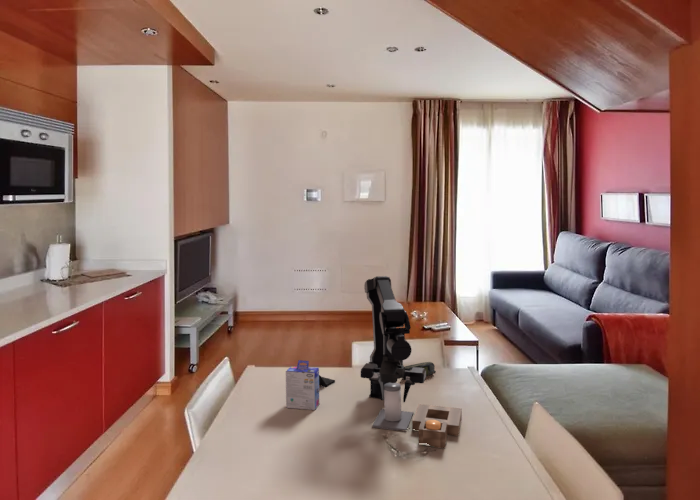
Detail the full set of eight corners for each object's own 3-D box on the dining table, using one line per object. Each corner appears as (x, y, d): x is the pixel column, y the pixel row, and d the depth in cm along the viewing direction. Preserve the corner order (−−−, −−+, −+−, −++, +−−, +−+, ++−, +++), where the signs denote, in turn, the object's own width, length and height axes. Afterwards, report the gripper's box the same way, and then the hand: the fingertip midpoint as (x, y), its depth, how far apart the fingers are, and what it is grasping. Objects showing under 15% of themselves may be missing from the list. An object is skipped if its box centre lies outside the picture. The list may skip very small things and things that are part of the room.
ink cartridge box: (320, 403, 163) (319, 360, 162) (315, 410, 158) (315, 365, 156) (291, 401, 165) (290, 358, 164) (285, 408, 160) (284, 364, 158)
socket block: (407, 443, 136) (407, 427, 136) (418, 413, 155) (418, 399, 155) (456, 449, 132) (456, 433, 132) (461, 418, 151) (461, 403, 151)
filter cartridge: (383, 420, 148) (382, 387, 148) (386, 414, 153) (385, 382, 153) (399, 422, 147) (398, 388, 146) (402, 415, 152) (402, 383, 151)
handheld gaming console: (337, 376, 184) (326, 359, 178) (332, 393, 179) (320, 377, 173) (310, 375, 189) (299, 360, 183) (304, 392, 184) (292, 377, 178)
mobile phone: (404, 368, 182) (438, 361, 189) (400, 366, 185) (433, 359, 192) (405, 382, 183) (438, 374, 189) (400, 379, 185) (433, 371, 192)
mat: (372, 427, 146) (372, 425, 146) (381, 410, 157) (381, 408, 157) (406, 431, 143) (406, 429, 143) (413, 414, 155) (413, 412, 154)
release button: (424, 439, 136) (424, 425, 135) (426, 432, 139) (426, 419, 139) (439, 441, 134) (439, 427, 134) (441, 434, 138) (441, 420, 138)
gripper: (355, 355, 143) (355, 408, 145) (420, 360, 138) (420, 415, 139) (365, 344, 154) (365, 393, 155) (426, 349, 148) (426, 400, 150)
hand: (393, 400), depth 150 cm, fingers open, 6 cm apart
